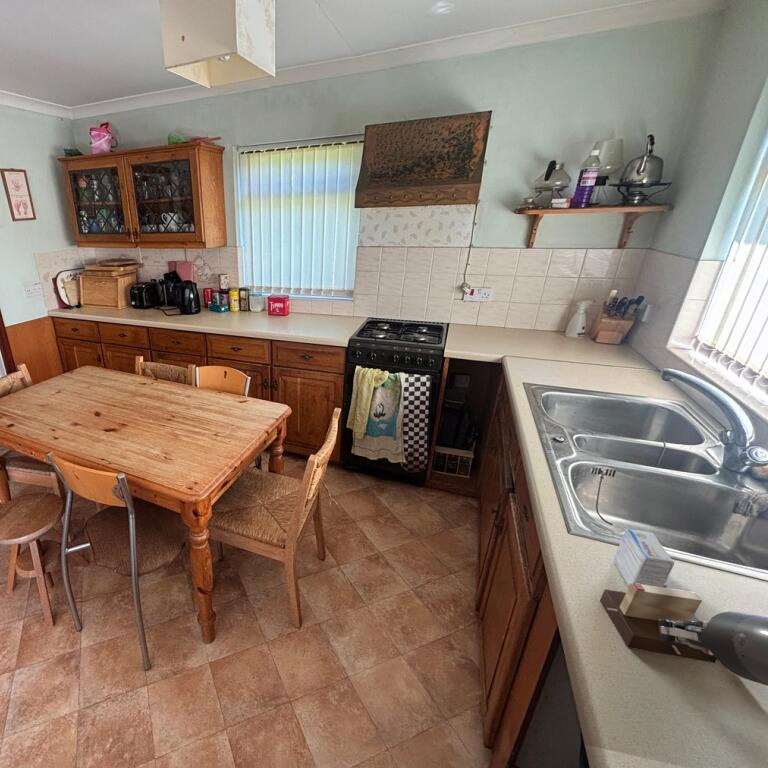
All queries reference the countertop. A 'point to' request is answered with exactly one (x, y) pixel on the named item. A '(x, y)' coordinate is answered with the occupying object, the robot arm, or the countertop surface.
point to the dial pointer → (659, 603)
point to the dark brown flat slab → (646, 631)
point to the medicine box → (642, 559)
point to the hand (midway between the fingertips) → (666, 627)
